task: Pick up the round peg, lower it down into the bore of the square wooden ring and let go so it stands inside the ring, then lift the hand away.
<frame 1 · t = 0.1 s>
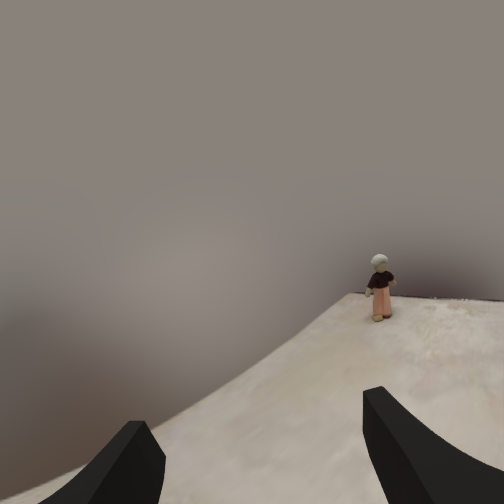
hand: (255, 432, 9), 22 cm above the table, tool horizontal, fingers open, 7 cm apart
grandmother figurine: (383, 316, 59), on the table
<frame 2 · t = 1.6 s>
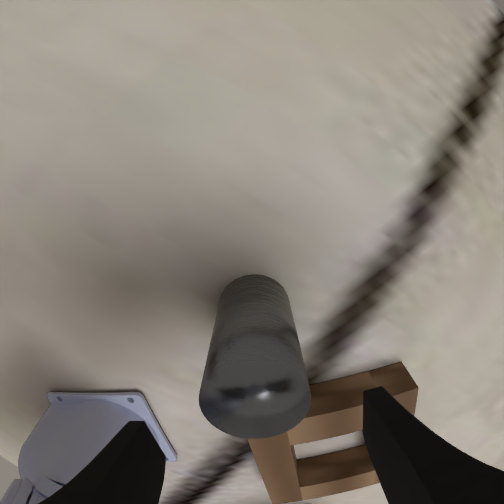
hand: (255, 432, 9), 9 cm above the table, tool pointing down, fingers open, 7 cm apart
round peg: (254, 307, 18), on the table
square wooden ring: (330, 431, 21), on the table
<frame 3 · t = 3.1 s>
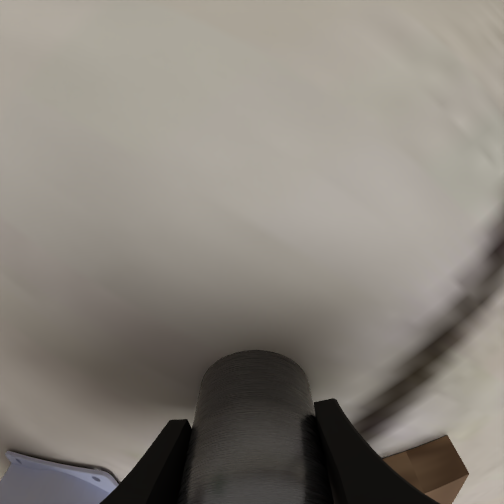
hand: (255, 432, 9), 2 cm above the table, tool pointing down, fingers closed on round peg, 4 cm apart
round peg: (255, 393, 11), on the table, touching gripper
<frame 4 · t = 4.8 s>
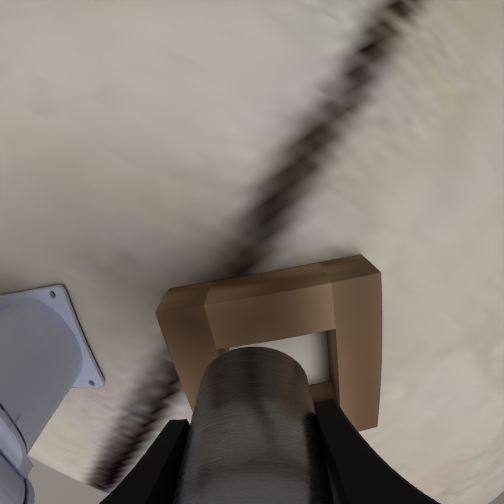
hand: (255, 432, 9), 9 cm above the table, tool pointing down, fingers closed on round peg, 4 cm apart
round peg: (254, 391, 11), point 7 cm above the table, touching gripper
square wooden ring: (280, 354, 19), on the table
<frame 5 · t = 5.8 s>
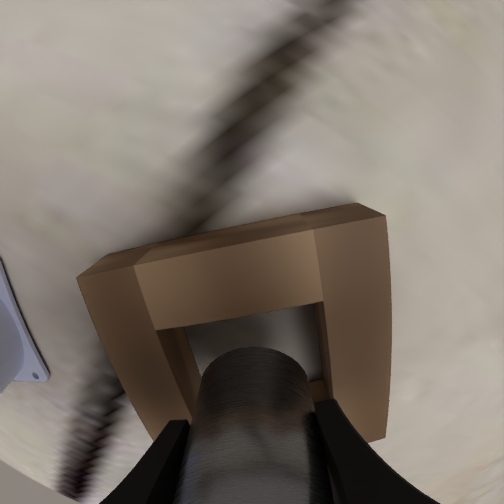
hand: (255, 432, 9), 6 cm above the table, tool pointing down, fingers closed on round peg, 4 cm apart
round peg: (254, 391, 11), point 4 cm above the table, touching gripper
square wooden ring: (253, 343, 14), on the table
when the fingers open (3 cm above the table, at t = 6.6 s): round peg drops 1 cm, resting in square wooden ring.
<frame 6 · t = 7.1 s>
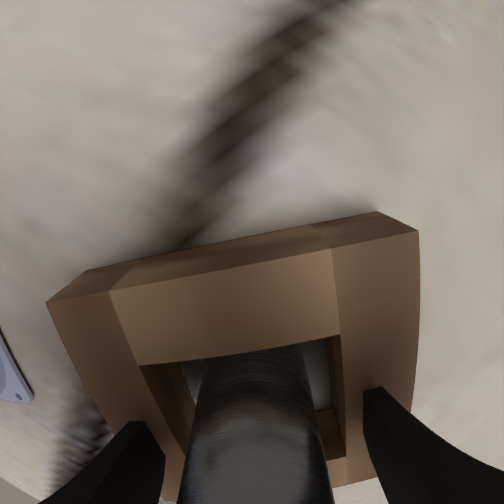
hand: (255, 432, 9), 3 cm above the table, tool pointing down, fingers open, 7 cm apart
round peg: (254, 369, 12), resting in square wooden ring
square wooden ring: (255, 371, 12), on the table
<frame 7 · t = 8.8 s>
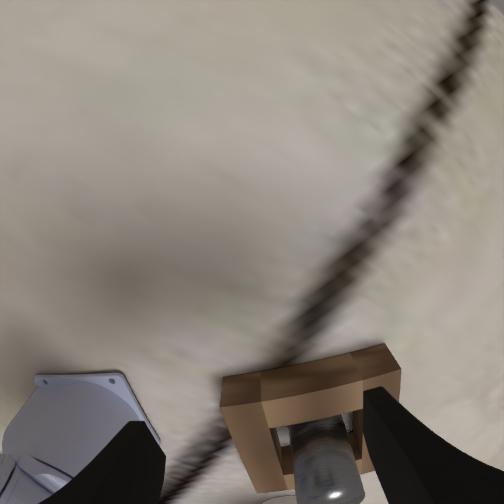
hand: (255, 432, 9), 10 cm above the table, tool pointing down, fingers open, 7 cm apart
round peg: (314, 416, 21), resting in square wooden ring
square wooden ring: (314, 417, 21), on the table
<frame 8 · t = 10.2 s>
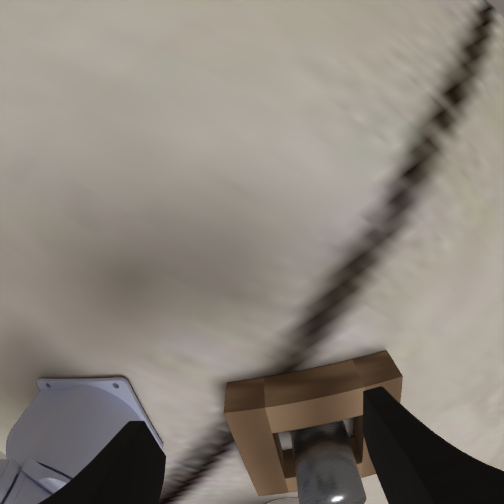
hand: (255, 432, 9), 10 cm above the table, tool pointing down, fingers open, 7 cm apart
round peg: (315, 421, 21), resting in square wooden ring
square wooden ring: (315, 422, 21), on the table
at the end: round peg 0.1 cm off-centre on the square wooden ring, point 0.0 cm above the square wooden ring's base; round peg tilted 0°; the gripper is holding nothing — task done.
